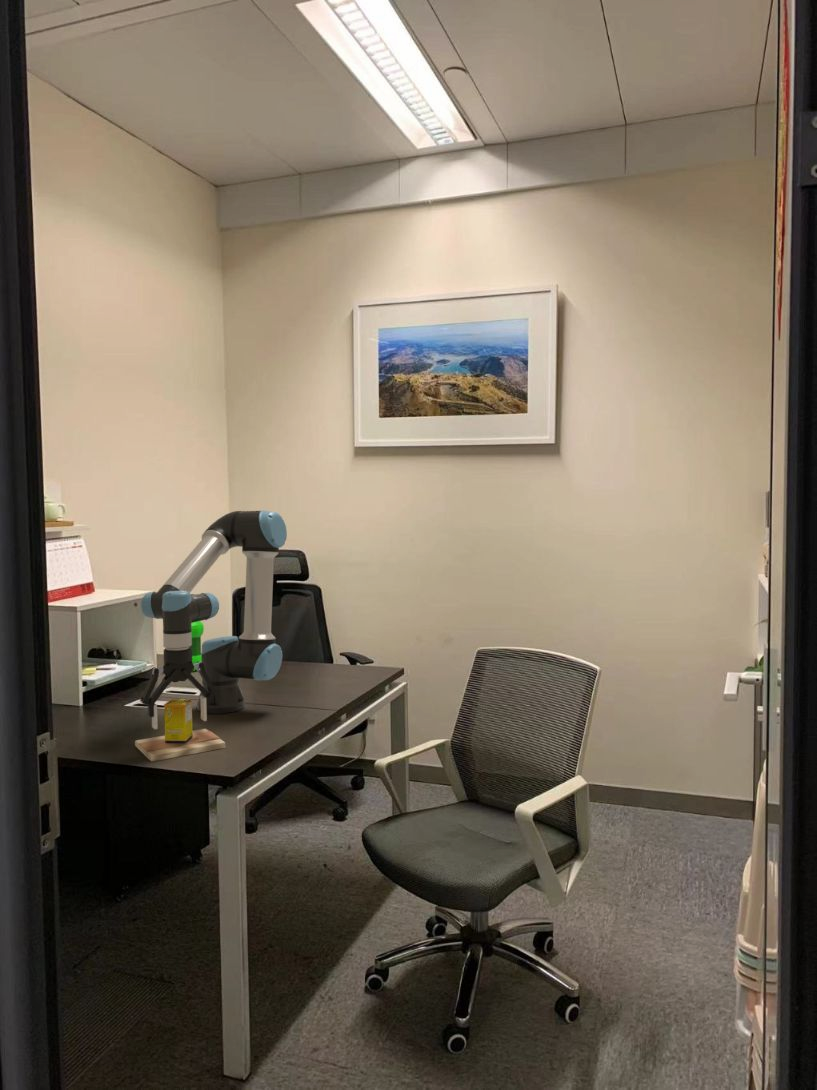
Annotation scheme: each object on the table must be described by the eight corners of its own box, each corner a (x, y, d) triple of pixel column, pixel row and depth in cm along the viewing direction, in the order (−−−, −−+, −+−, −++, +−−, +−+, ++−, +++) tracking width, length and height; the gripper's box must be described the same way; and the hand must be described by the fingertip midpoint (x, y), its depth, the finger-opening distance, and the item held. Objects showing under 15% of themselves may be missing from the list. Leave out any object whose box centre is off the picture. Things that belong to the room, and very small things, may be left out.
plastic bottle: (199, 673, 309) (197, 610, 308) (173, 672, 311) (172, 610, 309) (208, 667, 319) (207, 607, 318) (184, 667, 321) (182, 606, 319)
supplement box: (172, 737, 219) (171, 698, 218) (193, 737, 219) (192, 698, 218) (164, 743, 213) (163, 704, 212) (186, 743, 213) (185, 704, 212)
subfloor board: (205, 733, 228) (205, 727, 228) (225, 747, 215) (225, 741, 215) (135, 745, 217) (135, 739, 217) (151, 761, 204) (151, 754, 204)
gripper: (216, 640, 224) (218, 713, 226) (127, 650, 211) (129, 728, 212) (226, 644, 218) (228, 719, 219) (134, 655, 204) (137, 735, 206)
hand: (179, 724), depth 216 cm, fingers open, 13 cm apart
